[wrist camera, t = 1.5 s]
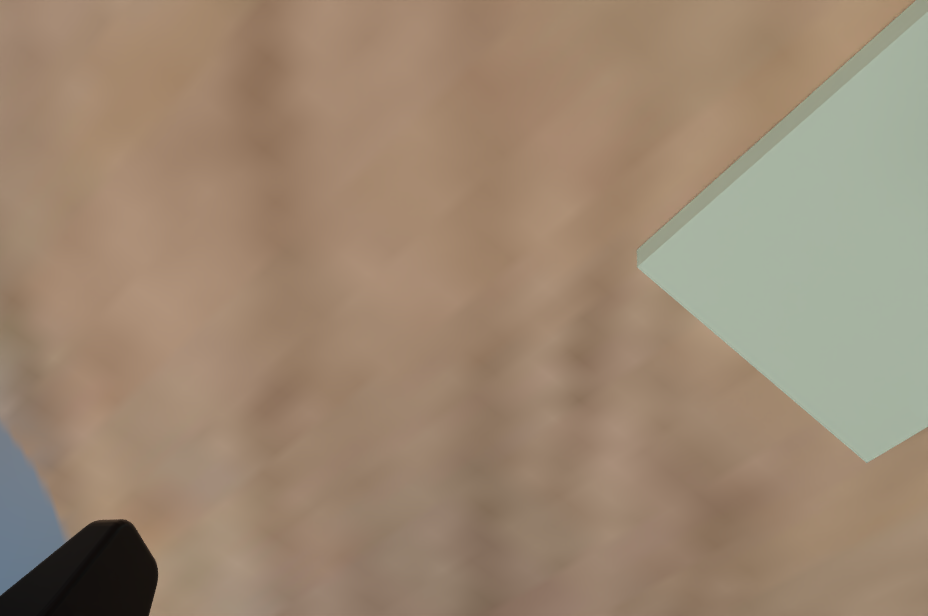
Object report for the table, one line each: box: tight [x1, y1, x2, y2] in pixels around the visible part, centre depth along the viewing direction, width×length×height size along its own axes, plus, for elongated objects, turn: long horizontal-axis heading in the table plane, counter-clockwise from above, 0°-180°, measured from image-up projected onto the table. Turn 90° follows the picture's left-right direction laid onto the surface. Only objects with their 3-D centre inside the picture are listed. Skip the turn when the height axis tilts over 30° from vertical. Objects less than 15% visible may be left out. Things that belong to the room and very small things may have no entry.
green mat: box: [637, 0, 928, 463], centre depth 20 cm, size 9×9×1 cm
